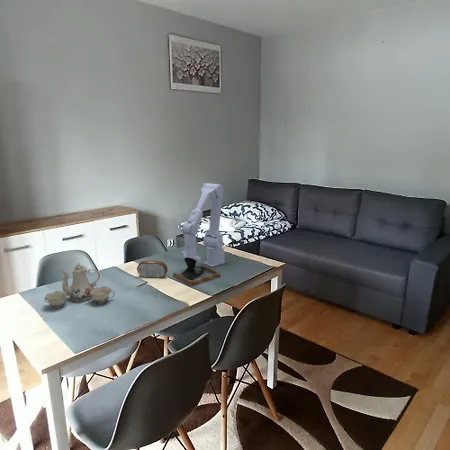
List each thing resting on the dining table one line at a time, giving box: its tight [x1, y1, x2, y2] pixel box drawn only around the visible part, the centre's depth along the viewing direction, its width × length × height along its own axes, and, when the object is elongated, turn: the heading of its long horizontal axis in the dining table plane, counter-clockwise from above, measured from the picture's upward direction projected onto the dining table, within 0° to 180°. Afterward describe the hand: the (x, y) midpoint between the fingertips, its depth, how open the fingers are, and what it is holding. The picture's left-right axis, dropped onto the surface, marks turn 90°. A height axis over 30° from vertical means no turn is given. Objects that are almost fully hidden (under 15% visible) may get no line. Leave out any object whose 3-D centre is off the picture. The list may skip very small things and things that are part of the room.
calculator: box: [178, 265, 205, 281], centre depth 187 cm, size 9×12×3 cm
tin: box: [136, 260, 168, 279], centre depth 183 cm, size 15×3×8 cm, turn 84°
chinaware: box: [44, 262, 116, 309], centre depth 157 cm, size 28×17×17 cm, turn 108°
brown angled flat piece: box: [172, 264, 222, 287], centre depth 184 cm, size 18×16×2 cm
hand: (191, 271), depth 188 cm, fingers closed
